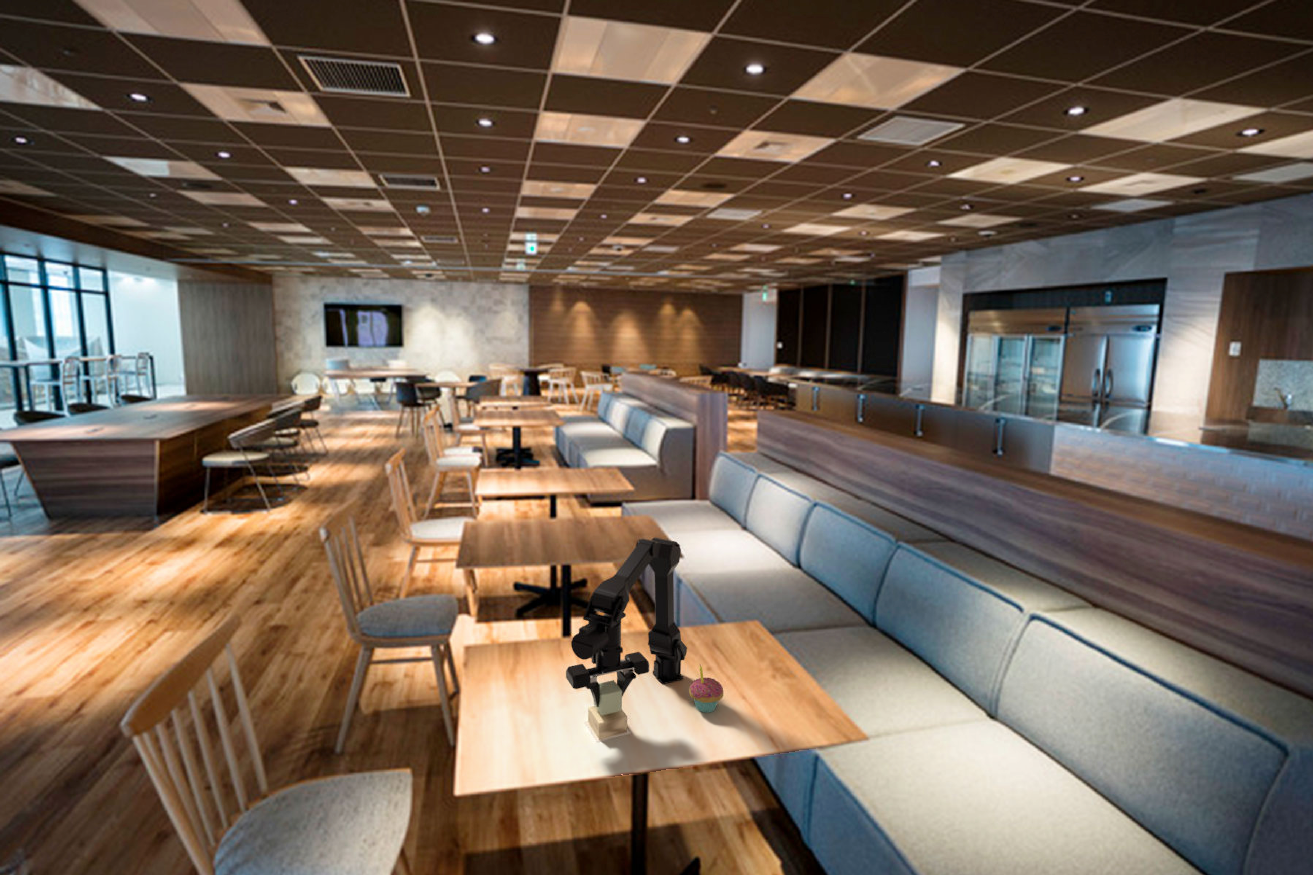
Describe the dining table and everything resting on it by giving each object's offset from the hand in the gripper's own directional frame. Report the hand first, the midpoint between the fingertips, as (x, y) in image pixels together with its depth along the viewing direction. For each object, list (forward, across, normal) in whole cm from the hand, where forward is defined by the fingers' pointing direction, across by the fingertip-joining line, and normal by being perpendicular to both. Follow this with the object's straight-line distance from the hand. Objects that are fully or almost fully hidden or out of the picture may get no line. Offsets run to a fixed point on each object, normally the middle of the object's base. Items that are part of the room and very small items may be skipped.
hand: (607, 703), depth 155 cm
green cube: (+1, 0, 0) cm, 1 cm away
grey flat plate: (+7, -2, 0) cm, 7 cm away
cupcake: (+7, -26, +1) cm, 27 cm away
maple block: (+6, 0, 0) cm, 6 cm away
